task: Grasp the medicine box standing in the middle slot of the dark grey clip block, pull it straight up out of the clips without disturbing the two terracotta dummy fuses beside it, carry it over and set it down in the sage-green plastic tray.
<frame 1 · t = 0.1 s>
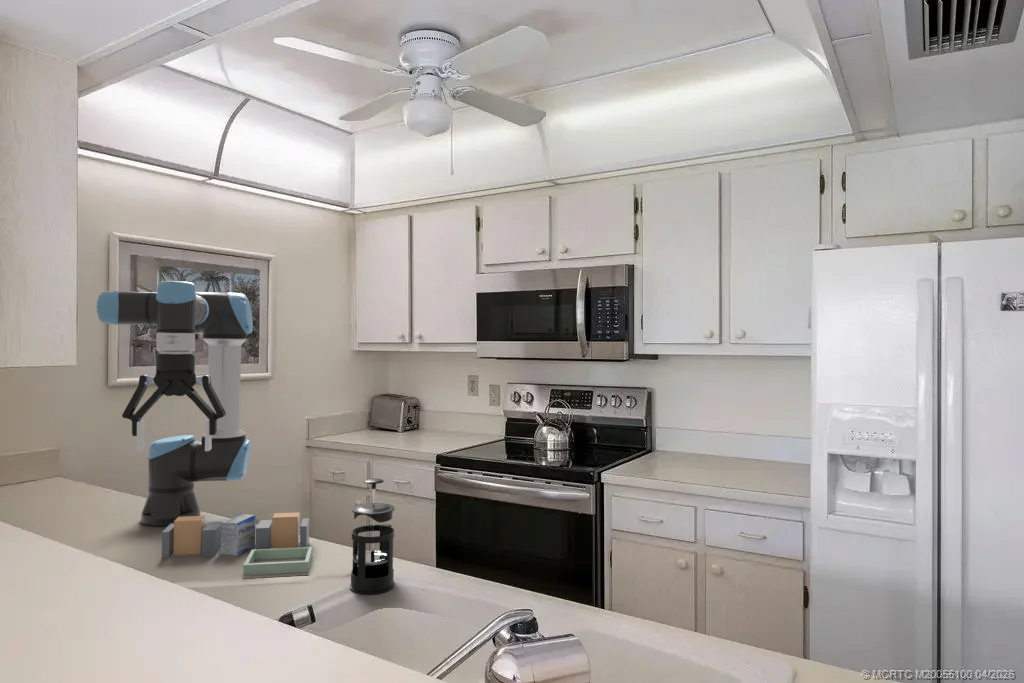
hand: (174, 450, 147), 28 cm above the countertop, fingers open, 13 cm apart
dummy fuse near: (189, 551, 162), point 1 cm above the countertop, touching clip block
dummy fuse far: (285, 547, 167), point 1 cm above the countertop, touching clip block
medicine box: (238, 554, 165), on the countertop
tray: (279, 569, 155), on the countertop
french press: (373, 586, 146), on the countertop
clip block: (238, 553, 165), on the countertop
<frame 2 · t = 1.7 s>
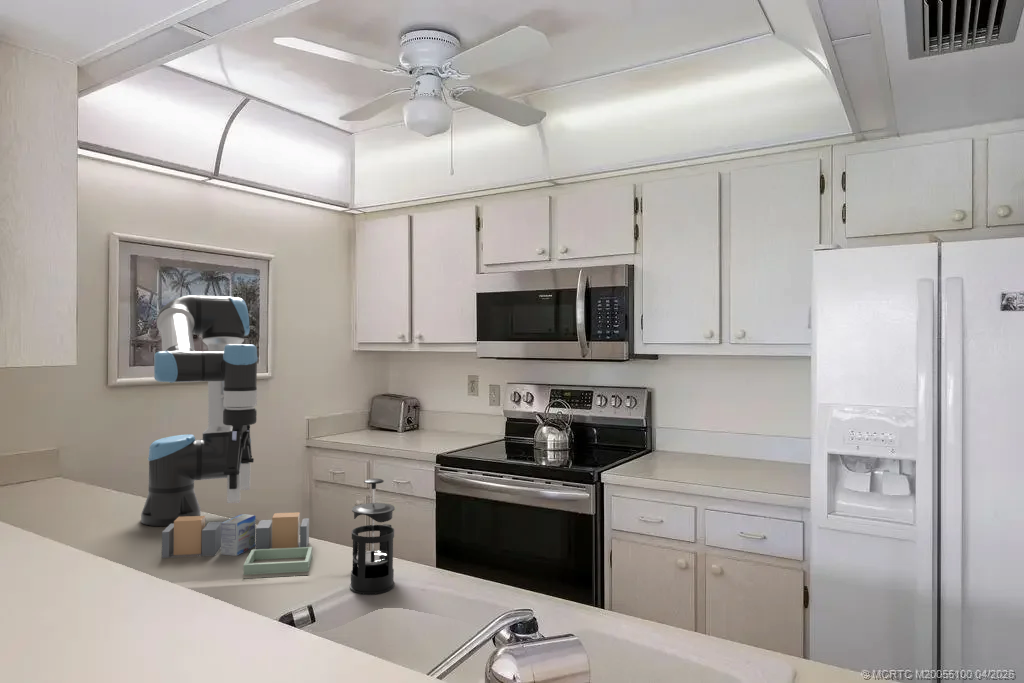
hand: (239, 495, 164), 14 cm above the countertop, fingers open, 13 cm apart
nothing on the countertop moved.
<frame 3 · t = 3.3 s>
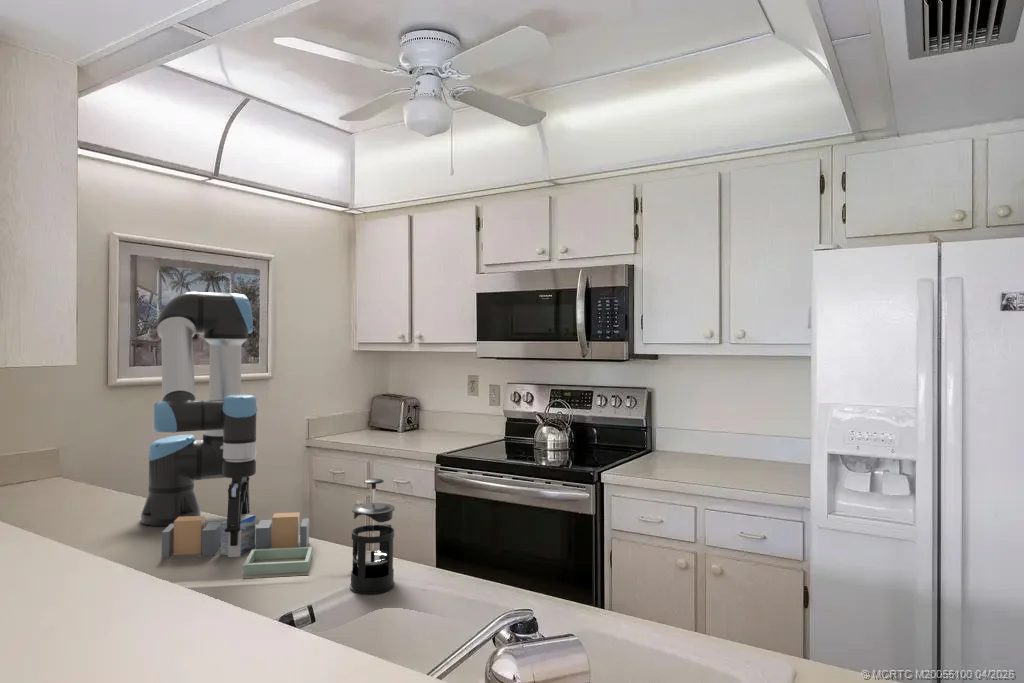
hand: (238, 551, 165), 0 cm above the countertop, fingers closed on medicine box, 9 cm apart
medicine box: (238, 554, 165), on the countertop, touching gripper
everything else where it was.
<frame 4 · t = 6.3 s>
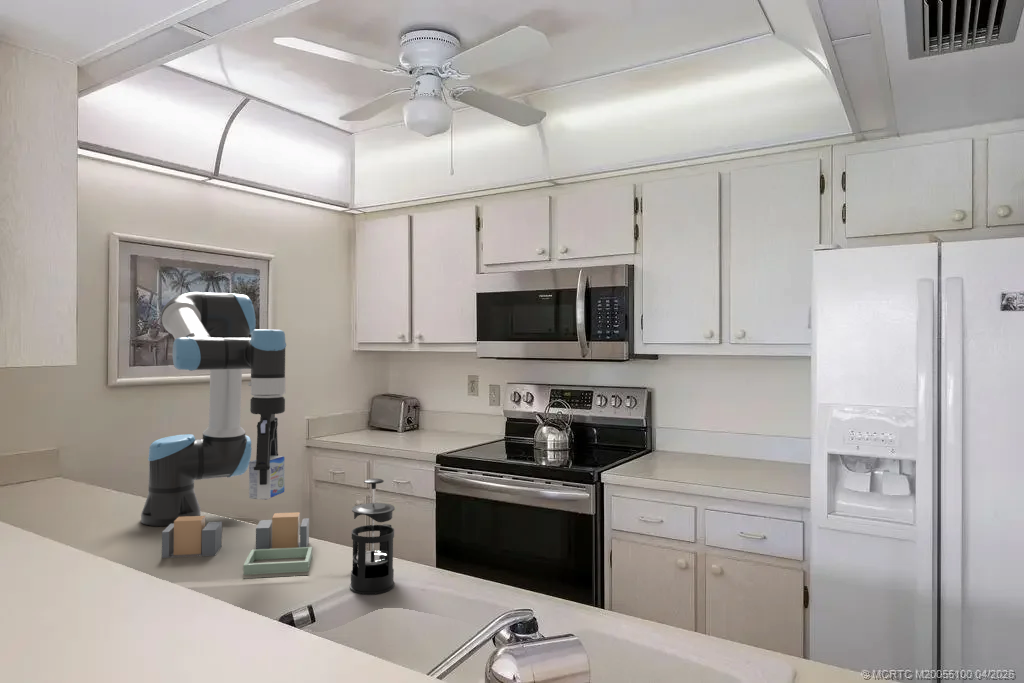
hand: (267, 493, 157), 17 cm above the countertop, fingers closed on medicine box, 9 cm apart
medicine box: (267, 496, 157), point 16 cm above the countertop, touching gripper
everything else where it was.
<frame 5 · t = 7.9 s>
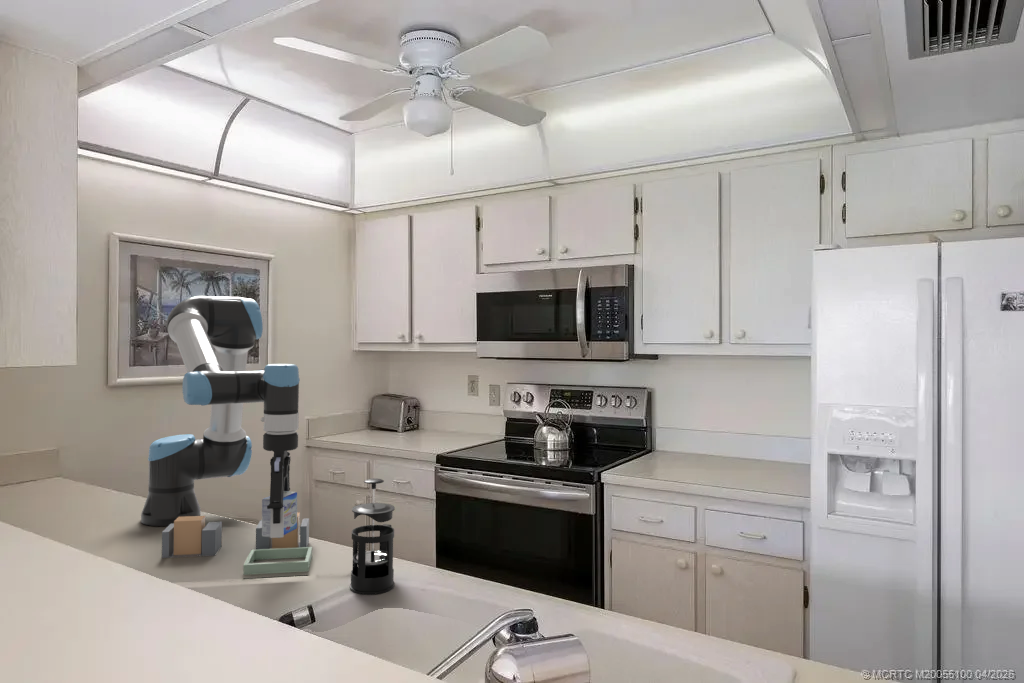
hand: (279, 530, 154), 9 cm above the countertop, fingers closed on medicine box, 9 cm apart
medicine box: (279, 533, 154), point 8 cm above the countertop, touching gripper
everything else where it was.
when the fingers open (4 cm above the countertop, at t = 9.3 s): medicine box drops 2 cm, resting on tray.
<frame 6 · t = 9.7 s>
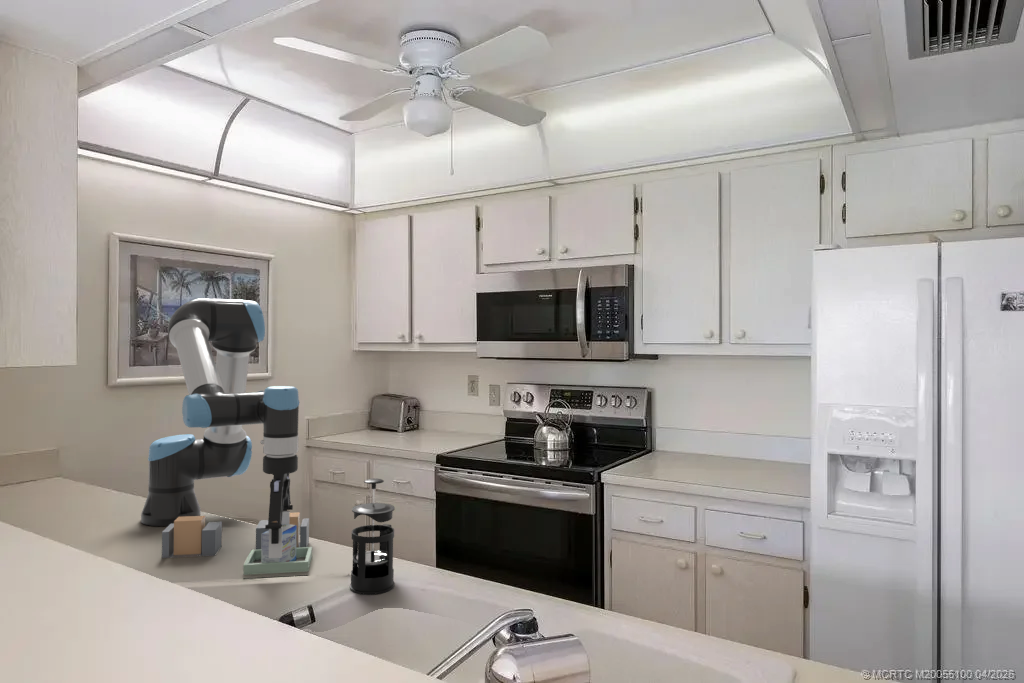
hand: (279, 547, 155), 5 cm above the countertop, fingers open, 13 cm apart
medicine box: (278, 567, 155), resting on tray
everything else where it was.
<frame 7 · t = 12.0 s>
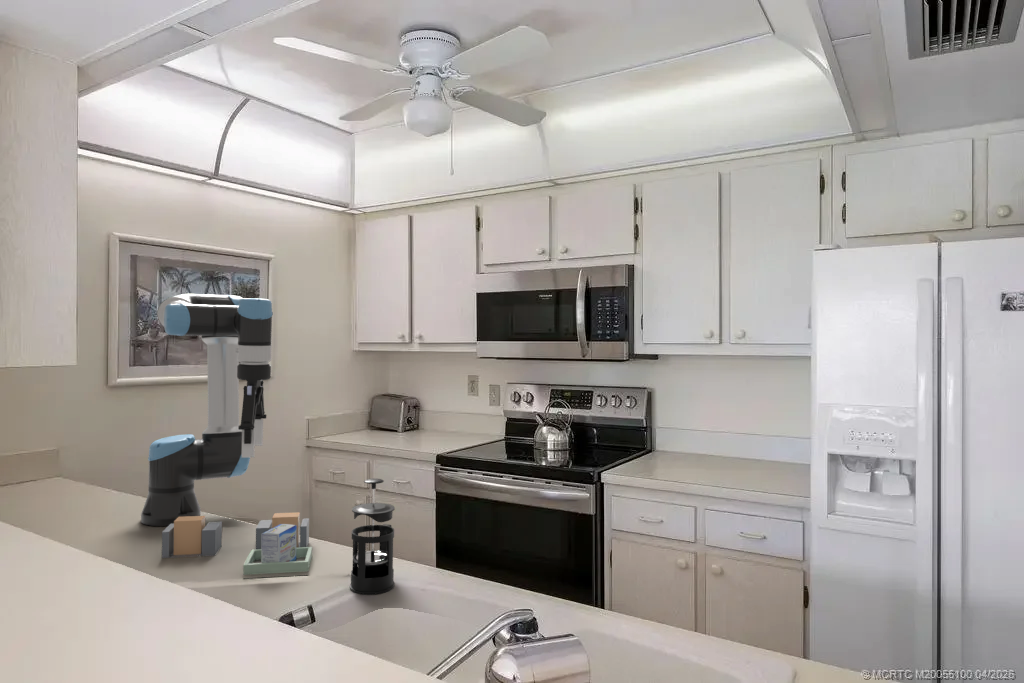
hand: (252, 451, 163), 25 cm above the countertop, fingers open, 13 cm apart
nothing on the countertop moved.
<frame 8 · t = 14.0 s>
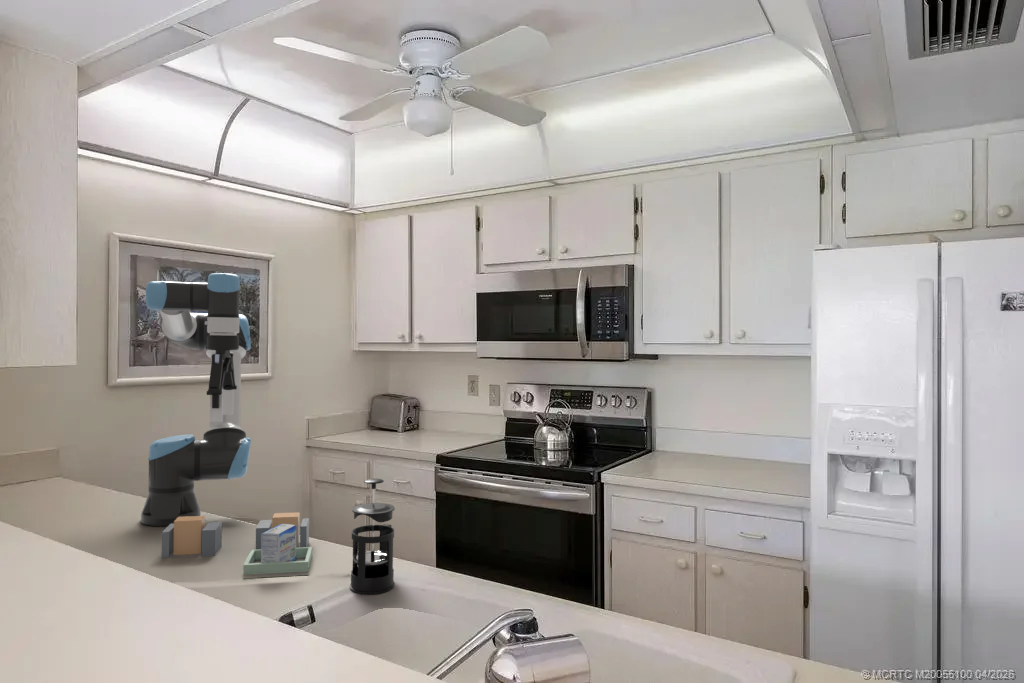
hand: (222, 418, 173), 32 cm above the countertop, fingers open, 13 cm apart
nothing on the countertop moved.
at the end: medicine box inside the target area on the tray (0.0 cm from its centre), point 0.4 cm above the tray's base; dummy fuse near moved 0.0 cm from its start; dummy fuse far moved 0.0 cm from its start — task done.
